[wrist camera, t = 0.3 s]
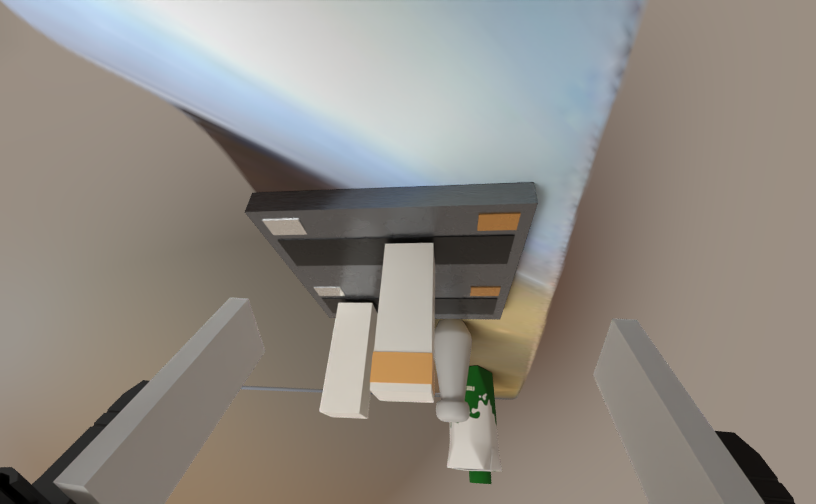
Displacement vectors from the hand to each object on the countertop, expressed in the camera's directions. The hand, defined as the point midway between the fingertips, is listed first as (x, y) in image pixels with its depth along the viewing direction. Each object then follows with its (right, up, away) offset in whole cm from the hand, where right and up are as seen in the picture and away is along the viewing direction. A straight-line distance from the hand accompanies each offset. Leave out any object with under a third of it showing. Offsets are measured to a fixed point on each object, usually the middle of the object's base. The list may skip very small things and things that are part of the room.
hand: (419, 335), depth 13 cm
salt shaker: (+6, -7, +37) cm, 38 cm away
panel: (-1, +2, +23) cm, 23 cm away
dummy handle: (-6, -4, +28) cm, 29 cm away
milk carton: (+13, -22, +60) cm, 65 cm away
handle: (0, +3, +17) cm, 17 cm away
